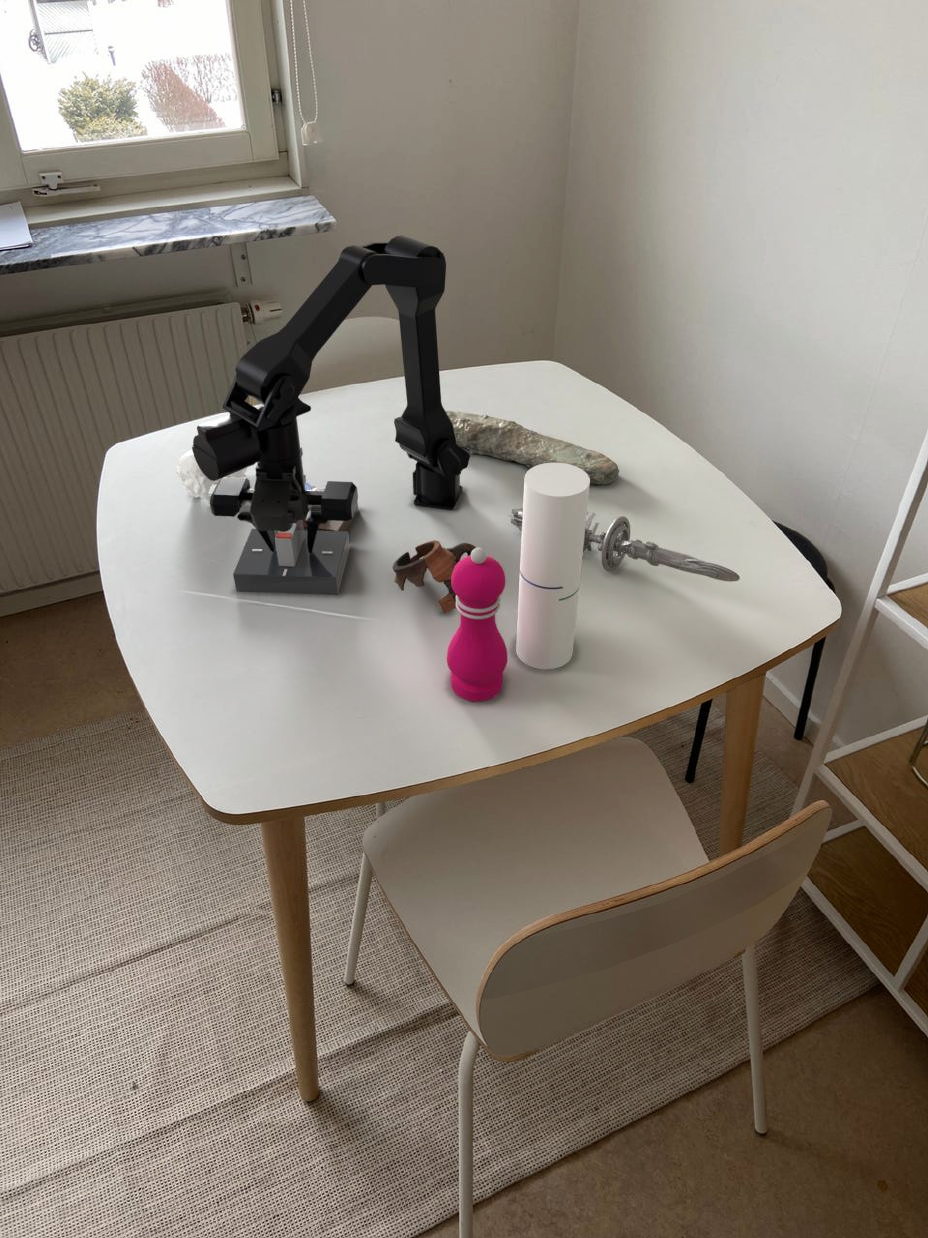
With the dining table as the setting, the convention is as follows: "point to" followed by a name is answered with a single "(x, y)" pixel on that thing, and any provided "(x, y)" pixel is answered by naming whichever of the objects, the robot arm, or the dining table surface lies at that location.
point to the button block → (333, 522)
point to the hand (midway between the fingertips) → (292, 550)
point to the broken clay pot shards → (432, 567)
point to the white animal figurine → (198, 477)
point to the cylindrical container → (550, 563)
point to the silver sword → (639, 550)
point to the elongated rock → (527, 446)
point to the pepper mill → (477, 628)
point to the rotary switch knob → (290, 544)
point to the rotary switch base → (308, 575)
